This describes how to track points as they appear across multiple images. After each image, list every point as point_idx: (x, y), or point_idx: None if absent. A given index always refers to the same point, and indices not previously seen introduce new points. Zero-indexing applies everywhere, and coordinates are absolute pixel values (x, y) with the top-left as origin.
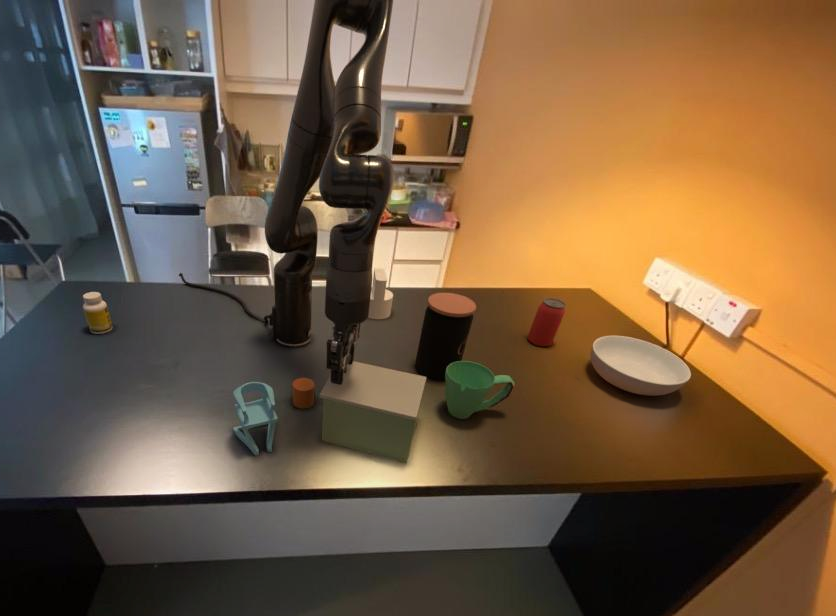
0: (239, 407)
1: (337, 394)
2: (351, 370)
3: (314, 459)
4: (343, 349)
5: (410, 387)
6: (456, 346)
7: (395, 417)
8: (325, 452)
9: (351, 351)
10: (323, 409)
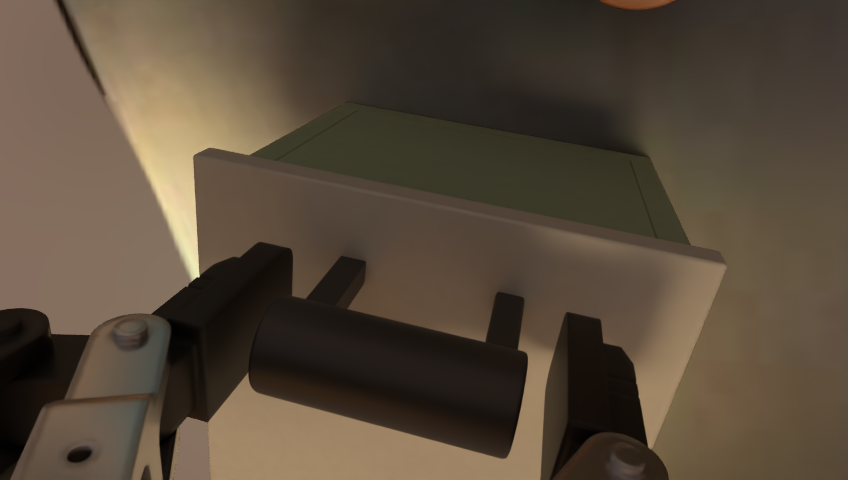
0: None
1: None
2: (541, 351)
3: (236, 89)
4: (566, 405)
5: None
6: None
7: None
8: (286, 128)
9: (545, 470)
10: (255, 152)
